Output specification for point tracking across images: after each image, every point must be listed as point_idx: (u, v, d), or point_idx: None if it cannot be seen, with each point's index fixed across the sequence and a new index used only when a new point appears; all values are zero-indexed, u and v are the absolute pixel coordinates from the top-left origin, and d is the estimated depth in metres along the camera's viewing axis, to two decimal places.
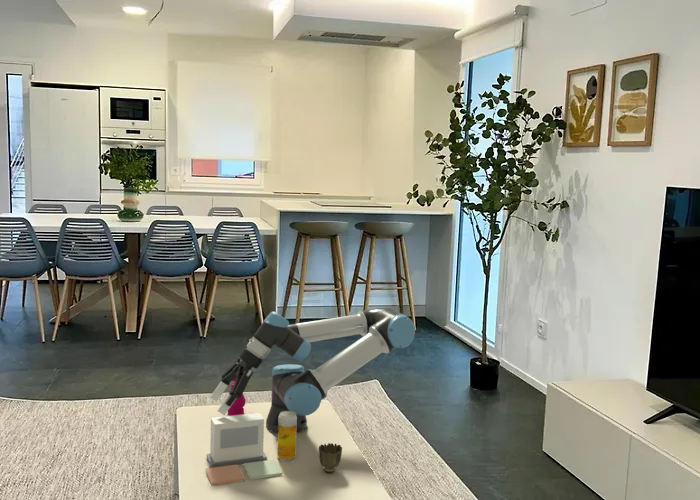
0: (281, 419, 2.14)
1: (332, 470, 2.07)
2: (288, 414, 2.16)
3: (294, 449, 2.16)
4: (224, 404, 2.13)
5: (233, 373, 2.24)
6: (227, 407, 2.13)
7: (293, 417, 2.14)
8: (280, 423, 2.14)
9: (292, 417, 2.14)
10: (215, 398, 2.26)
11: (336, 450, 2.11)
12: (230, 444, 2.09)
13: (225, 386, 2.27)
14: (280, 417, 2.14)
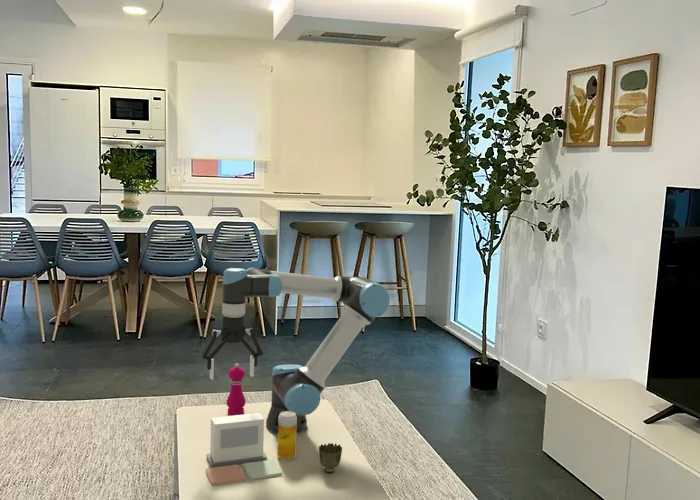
0: (281, 419, 2.14)
1: (332, 470, 2.07)
2: (288, 414, 2.16)
3: (294, 449, 2.16)
4: None
5: None
6: (210, 371, 2.17)
7: (293, 417, 2.14)
8: (280, 423, 2.14)
9: (292, 417, 2.14)
10: (250, 373, 2.23)
11: (336, 450, 2.11)
12: (230, 444, 2.09)
13: (251, 359, 2.22)
14: (280, 417, 2.14)
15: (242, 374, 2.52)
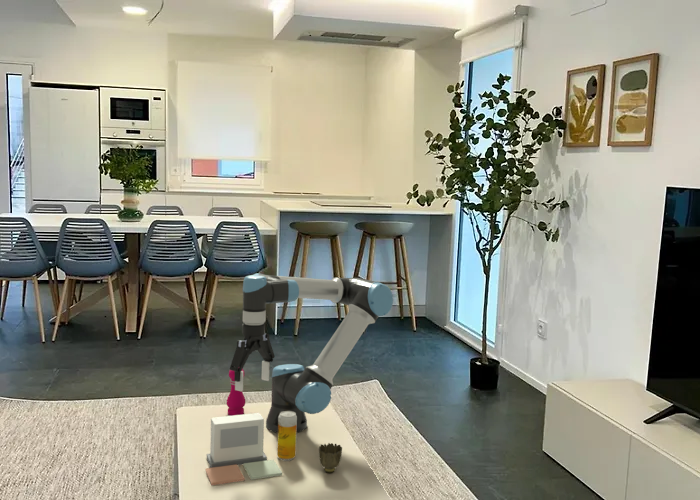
0: (281, 419, 2.14)
1: (332, 470, 2.07)
2: (288, 414, 2.16)
3: (294, 449, 2.16)
4: (236, 381, 2.13)
5: None
6: (239, 383, 2.12)
7: (293, 417, 2.14)
8: (280, 423, 2.14)
9: (292, 417, 2.14)
10: (265, 378, 2.24)
11: (336, 450, 2.11)
12: (230, 444, 2.09)
13: (266, 363, 2.23)
14: (280, 417, 2.14)
15: None
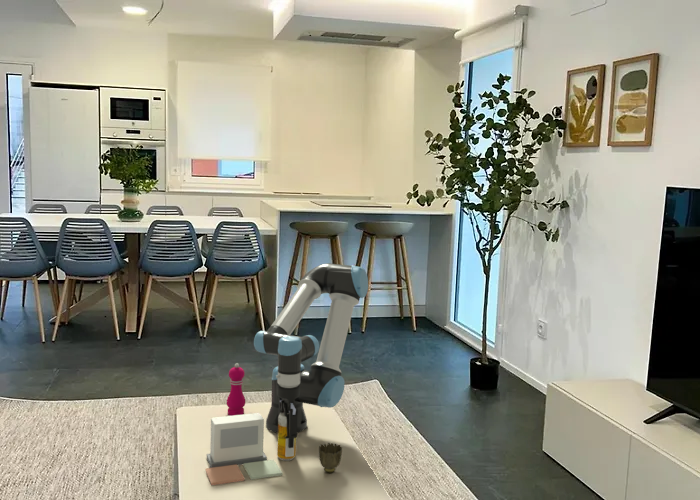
0: (281, 419, 2.14)
1: (332, 470, 2.07)
2: None
3: (294, 449, 2.16)
4: (287, 448, 2.13)
5: (284, 412, 2.17)
6: (292, 448, 2.14)
7: None
8: (280, 423, 2.14)
9: None
10: None
11: (336, 450, 2.11)
12: (230, 444, 2.09)
13: None
14: (280, 417, 2.14)
15: (242, 374, 2.52)
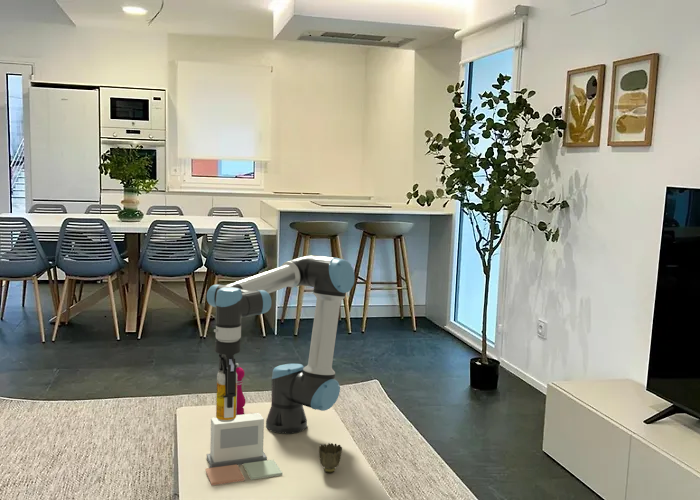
0: (219, 377, 1.97)
1: (332, 470, 2.07)
2: None
3: (234, 410, 1.99)
4: (226, 408, 1.97)
5: None
6: (231, 409, 1.97)
7: None
8: (218, 381, 1.97)
9: None
10: None
11: (336, 450, 2.11)
12: (230, 444, 2.09)
13: None
14: (218, 375, 1.98)
15: (242, 374, 2.52)
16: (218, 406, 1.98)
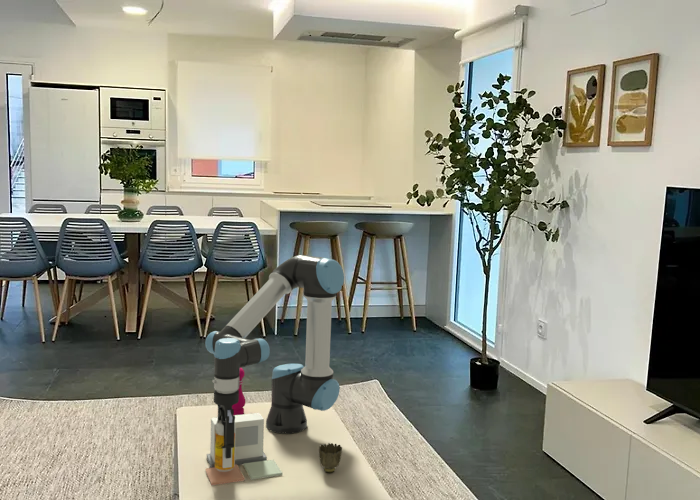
0: (218, 427, 1.99)
1: (332, 470, 2.07)
2: None
3: (232, 459, 2.01)
4: (225, 458, 1.98)
5: None
6: (229, 459, 1.99)
7: None
8: (217, 431, 1.99)
9: None
10: None
11: (336, 450, 2.11)
12: None
13: None
14: (217, 425, 1.99)
15: (242, 374, 2.52)
16: (217, 456, 2.00)
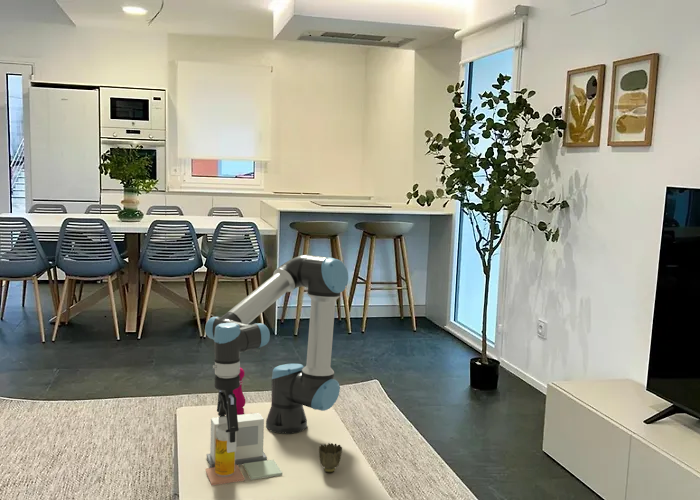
0: (218, 432, 1.99)
1: (332, 470, 2.07)
2: (226, 427, 2.01)
3: (233, 464, 2.01)
4: (229, 443, 1.95)
5: (222, 403, 2.02)
6: (234, 443, 1.95)
7: None
8: (217, 437, 1.99)
9: None
10: None
11: (336, 450, 2.11)
12: None
13: (225, 418, 2.06)
14: (217, 430, 1.99)
15: (242, 374, 2.52)
16: (217, 461, 2.00)
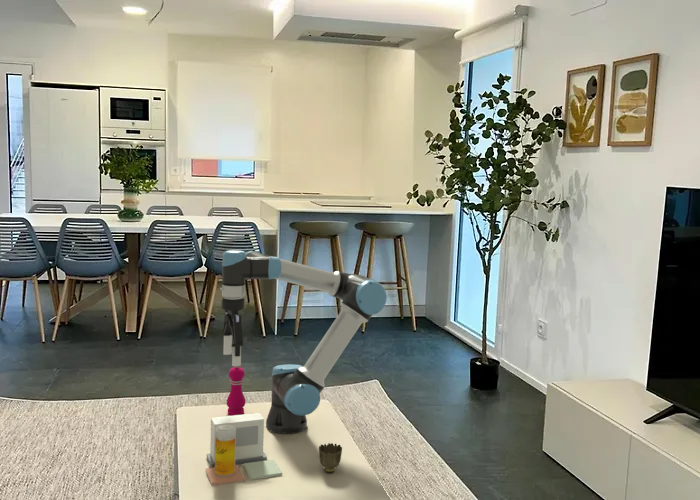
0: (218, 432, 1.99)
1: (332, 470, 2.07)
2: (226, 427, 2.01)
3: (233, 464, 2.01)
4: (234, 357, 2.13)
5: (228, 324, 2.21)
6: (238, 357, 2.13)
7: (231, 430, 1.99)
8: (217, 437, 1.99)
9: (230, 430, 1.99)
10: (228, 352, 2.26)
11: (336, 450, 2.11)
12: None
13: (230, 337, 2.25)
14: (217, 430, 1.99)
15: (242, 374, 2.52)
16: (217, 461, 2.00)
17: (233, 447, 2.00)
